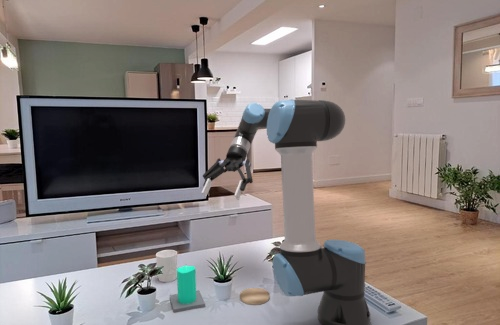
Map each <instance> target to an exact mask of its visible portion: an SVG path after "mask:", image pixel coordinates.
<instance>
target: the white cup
mask: <svg viewBox="0 0 500 325" xmlns="http://www.w3.org/2000/svg"><path fill="white" fill-rule="evenodd" d="M155 259H156V261H155V262H156V268H157V267H159V266H164V268H163V269H162V272H163V275H158V274H157V277H158V278H157V279H158V281H159V282H161V283H170V282H173V281H175V280H177V269H178V251H177V250H174V249H164V250H160V251H158V252H156V254H155Z"/></svg>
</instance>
